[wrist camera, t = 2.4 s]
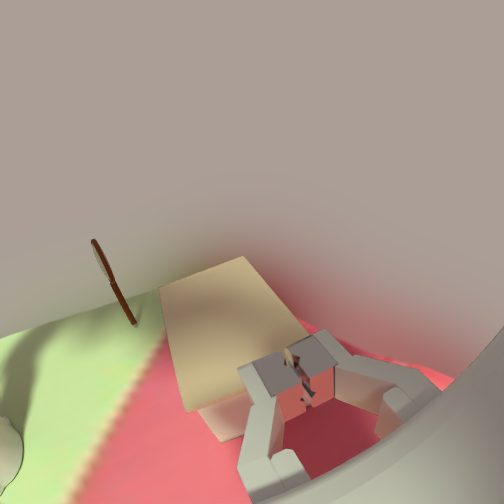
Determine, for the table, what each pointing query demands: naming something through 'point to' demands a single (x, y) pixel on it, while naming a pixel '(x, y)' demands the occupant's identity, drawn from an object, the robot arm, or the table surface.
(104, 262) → the magnifying glass
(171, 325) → the lid flap
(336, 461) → the table surface
